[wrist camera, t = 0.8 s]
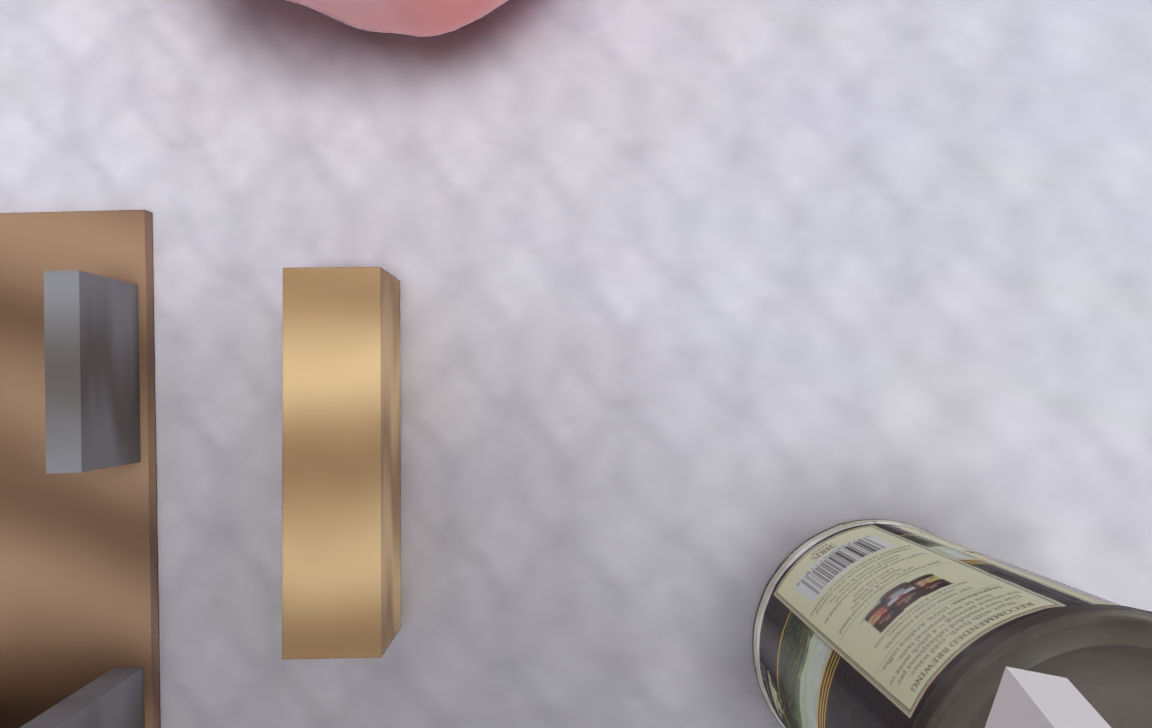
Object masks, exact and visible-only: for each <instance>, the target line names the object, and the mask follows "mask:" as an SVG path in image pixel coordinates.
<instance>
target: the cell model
mask: <svg viewBox="0 0 1152 728" xmlns="http://www.w3.org/2000/svg"><path fill="white" fill-rule="evenodd" d="M285 1H289V2H293V3H296V4H300V5H304V6H306V7H308V8H311V9H313V10H315V11H317V12H319V13H322V14H324V15H326V16H328V17H330V18H332V19H335V20H337V21H339V22H341V23H343V24H346V25H348V26H351V27H354V28H358V29H361V30H364V31H368V32H380V33H392V34H403V35H410V36H418V37H428V36H437V35H441V34H444V33H448V32H452V31H455V30H457V29H459V28H461V27H463V26H465V25H468V24H470V23H472V22H474V21H476V20H478V19H480V18H483V17H484V16H486V15H487V14H489V13H490V12H492V11H493V10H495V9H496V8H498V7H499V6H501V5H502V4H504V3H505V2H507V1H508V0H285Z"/></svg>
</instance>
